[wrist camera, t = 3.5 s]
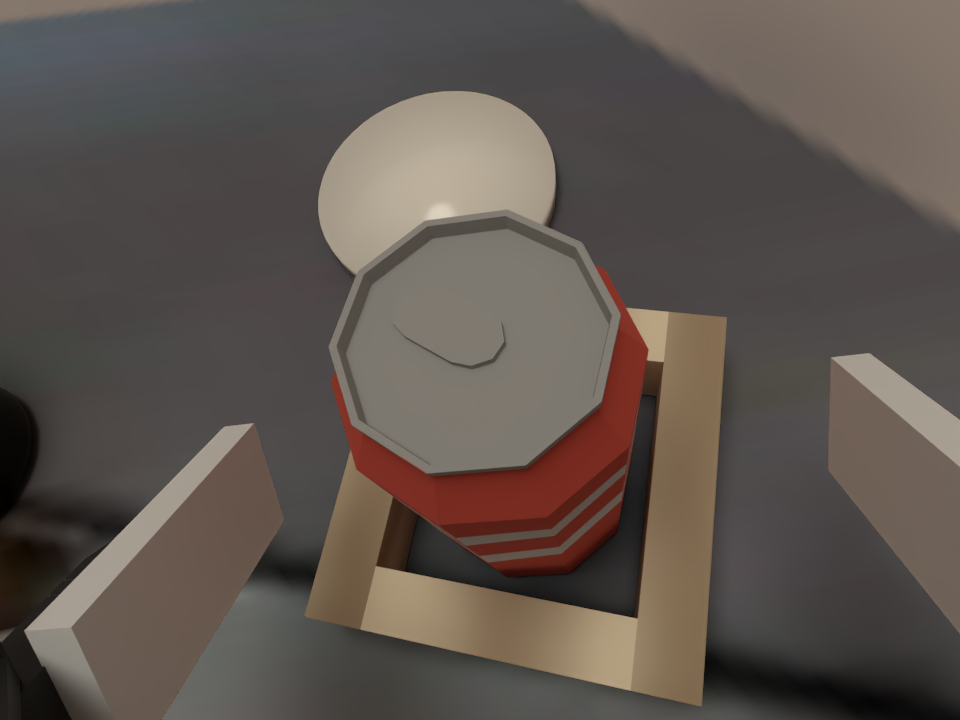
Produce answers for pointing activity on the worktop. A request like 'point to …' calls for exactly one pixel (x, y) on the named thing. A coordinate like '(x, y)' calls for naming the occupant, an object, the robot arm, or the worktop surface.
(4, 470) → the supplement bottle
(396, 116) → the coaster
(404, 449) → the beverage can
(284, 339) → the worktop surface
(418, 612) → the oak holder
